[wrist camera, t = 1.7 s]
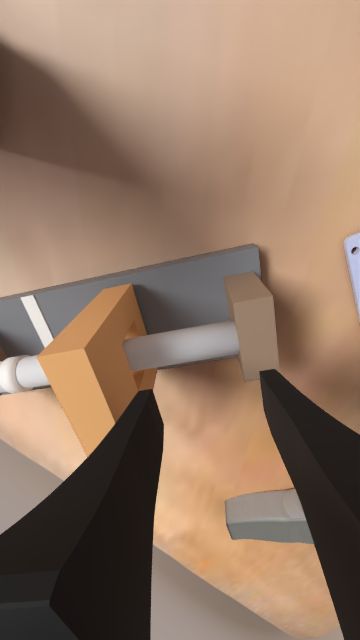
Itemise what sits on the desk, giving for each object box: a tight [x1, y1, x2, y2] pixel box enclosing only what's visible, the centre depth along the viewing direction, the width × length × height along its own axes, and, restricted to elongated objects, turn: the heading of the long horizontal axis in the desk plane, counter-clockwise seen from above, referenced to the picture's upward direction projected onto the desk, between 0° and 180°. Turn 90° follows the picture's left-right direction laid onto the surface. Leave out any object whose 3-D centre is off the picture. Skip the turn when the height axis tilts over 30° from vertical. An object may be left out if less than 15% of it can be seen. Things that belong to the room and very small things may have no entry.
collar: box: [36, 283, 157, 457], centre depth 16 cm, size 2×7×9 cm, turn 13°
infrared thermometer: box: [225, 488, 314, 544], centre depth 30 cm, size 5×12×15 cm
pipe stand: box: [0, 244, 280, 395], centre depth 19 cm, size 23×8×7 cm, turn 103°
